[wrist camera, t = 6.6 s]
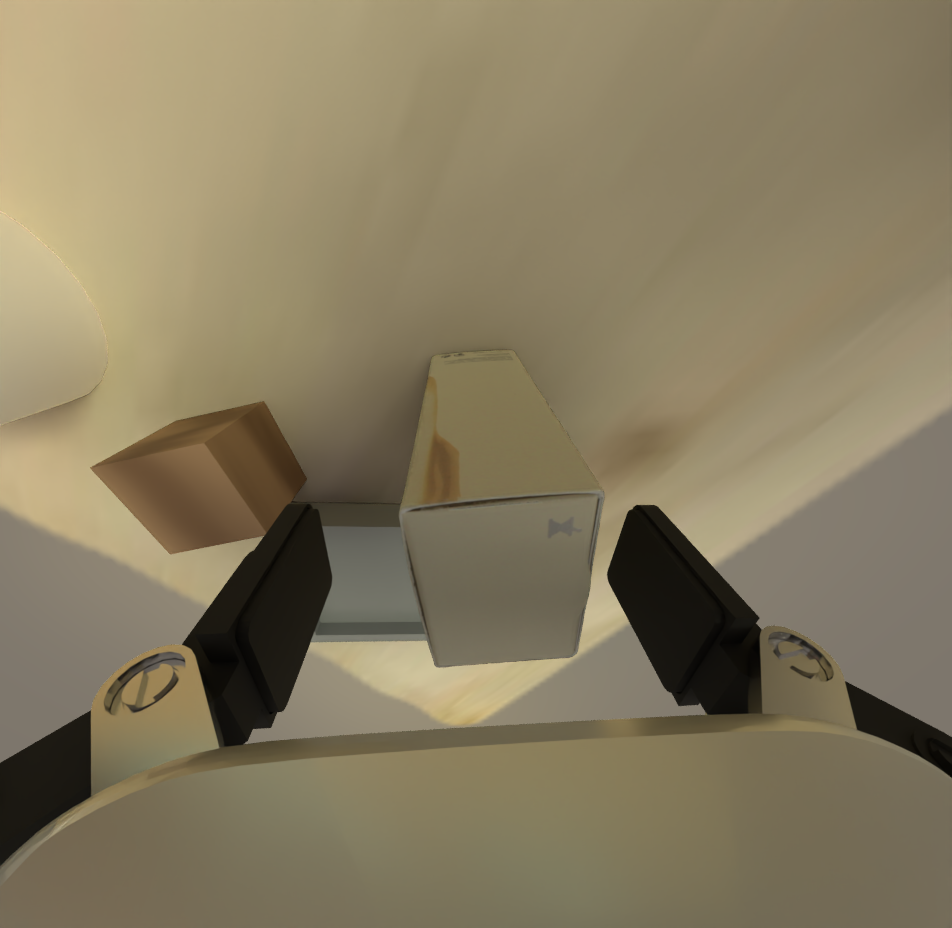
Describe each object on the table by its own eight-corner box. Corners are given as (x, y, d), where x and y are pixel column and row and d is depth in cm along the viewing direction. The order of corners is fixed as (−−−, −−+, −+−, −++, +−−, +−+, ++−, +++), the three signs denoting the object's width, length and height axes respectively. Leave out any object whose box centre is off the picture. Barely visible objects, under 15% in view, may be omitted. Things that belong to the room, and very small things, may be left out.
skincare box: (429, 353, 17) (386, 495, 6) (515, 347, 17) (613, 477, 6) (443, 463, 20) (430, 678, 10) (515, 458, 20) (581, 665, 10)
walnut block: (264, 400, 18) (204, 442, 13) (307, 478, 20) (267, 534, 16) (177, 420, 18) (89, 467, 14) (229, 494, 21) (170, 554, 16)
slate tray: (462, 505, 22) (463, 527, 20) (457, 614, 27) (457, 640, 25) (286, 502, 21) (269, 525, 19) (317, 615, 26) (306, 642, 25)
